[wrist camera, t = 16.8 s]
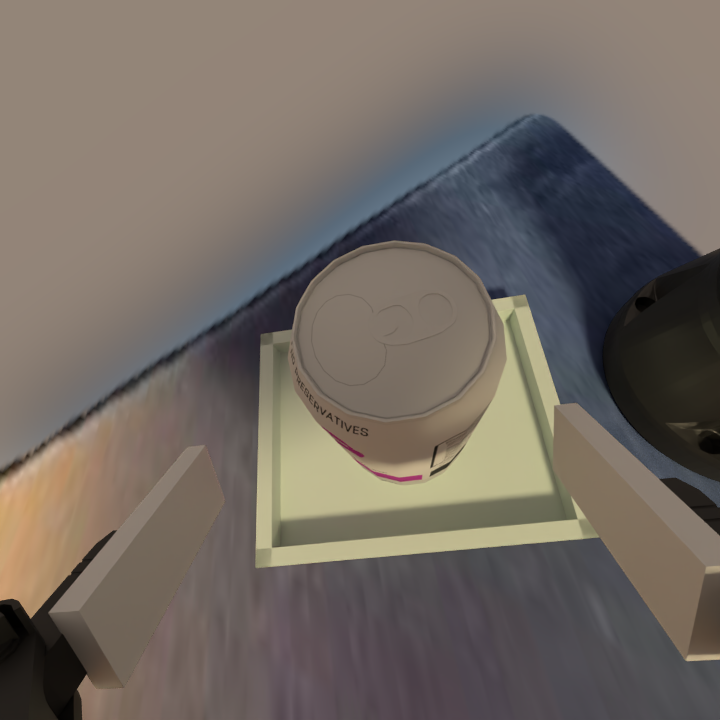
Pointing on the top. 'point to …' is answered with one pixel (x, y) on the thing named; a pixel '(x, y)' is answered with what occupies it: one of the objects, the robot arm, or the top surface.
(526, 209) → the top surface
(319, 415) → the supplement can
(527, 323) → the tray
